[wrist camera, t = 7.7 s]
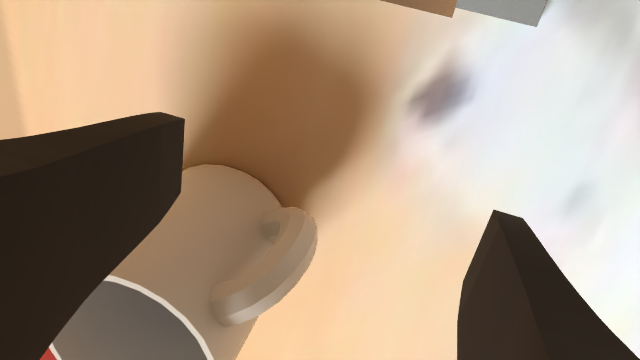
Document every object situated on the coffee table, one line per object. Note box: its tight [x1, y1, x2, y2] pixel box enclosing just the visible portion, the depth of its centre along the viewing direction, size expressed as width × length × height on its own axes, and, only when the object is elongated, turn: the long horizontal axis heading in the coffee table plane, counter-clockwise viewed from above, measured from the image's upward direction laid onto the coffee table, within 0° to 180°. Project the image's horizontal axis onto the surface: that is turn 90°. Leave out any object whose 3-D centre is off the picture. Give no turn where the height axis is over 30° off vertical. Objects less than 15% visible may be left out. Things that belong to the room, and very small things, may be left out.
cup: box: [49, 164, 317, 360], centre depth 22 cm, size 7×10×9 cm
